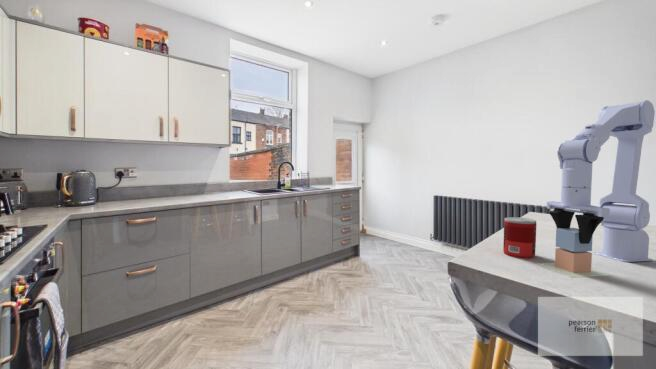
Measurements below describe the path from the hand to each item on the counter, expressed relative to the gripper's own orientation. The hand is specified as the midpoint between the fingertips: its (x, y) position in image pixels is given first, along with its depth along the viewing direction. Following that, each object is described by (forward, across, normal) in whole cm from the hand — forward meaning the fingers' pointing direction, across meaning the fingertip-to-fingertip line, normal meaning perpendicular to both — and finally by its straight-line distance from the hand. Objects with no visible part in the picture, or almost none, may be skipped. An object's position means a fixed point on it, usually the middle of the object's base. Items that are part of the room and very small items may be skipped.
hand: (573, 240), depth 74 cm
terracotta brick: (+7, 0, 0) cm, 7 cm away
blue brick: (+2, 0, 0) cm, 2 cm away
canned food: (+8, -13, -4) cm, 16 cm away
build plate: (+8, 0, 0) cm, 8 cm away
